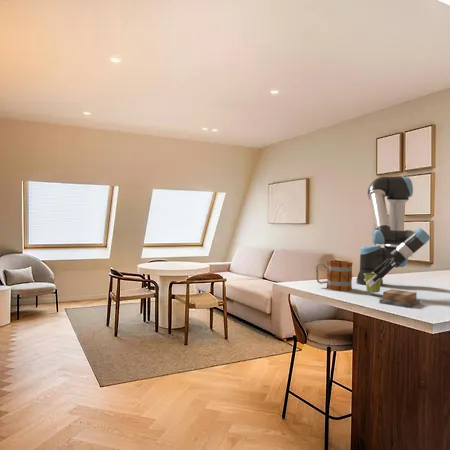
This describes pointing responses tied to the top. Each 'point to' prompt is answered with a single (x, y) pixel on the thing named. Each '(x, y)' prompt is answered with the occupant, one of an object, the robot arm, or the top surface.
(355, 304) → the top surface
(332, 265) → the mug
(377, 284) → the plant pot
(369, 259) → the robot arm
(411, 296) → the plinth
